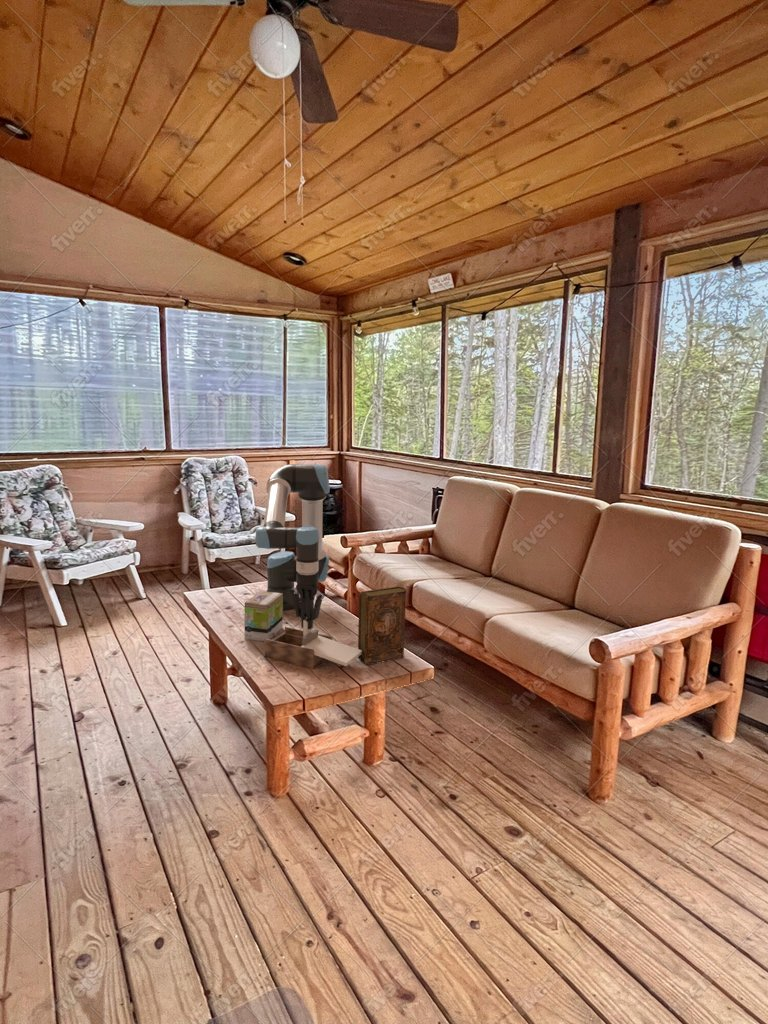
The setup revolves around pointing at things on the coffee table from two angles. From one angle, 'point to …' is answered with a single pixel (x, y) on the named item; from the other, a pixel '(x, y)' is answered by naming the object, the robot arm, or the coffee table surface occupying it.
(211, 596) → the coffee table surface
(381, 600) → the book
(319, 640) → the cover plate
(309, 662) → the walnut box
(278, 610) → the tea box
